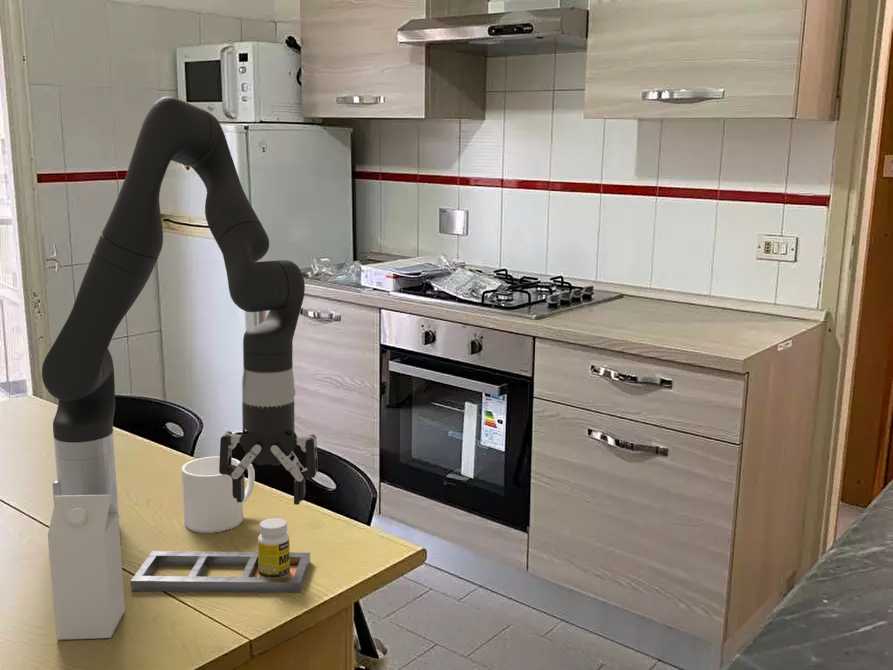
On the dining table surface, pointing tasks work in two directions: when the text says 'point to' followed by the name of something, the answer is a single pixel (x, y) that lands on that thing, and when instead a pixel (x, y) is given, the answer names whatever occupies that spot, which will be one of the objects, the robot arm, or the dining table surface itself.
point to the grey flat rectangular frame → (217, 584)
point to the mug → (211, 496)
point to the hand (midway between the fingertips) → (269, 501)
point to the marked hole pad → (291, 574)
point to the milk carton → (85, 567)
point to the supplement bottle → (273, 548)
